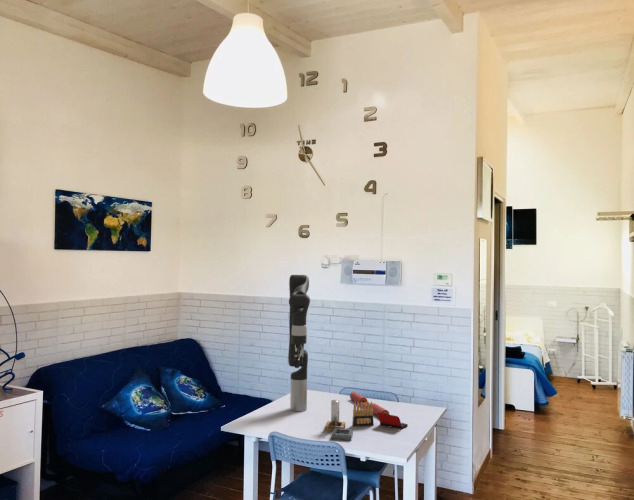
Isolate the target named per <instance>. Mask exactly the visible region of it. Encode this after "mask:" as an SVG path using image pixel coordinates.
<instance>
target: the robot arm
mask: <svg viewBox="0 0 634 500" xmlns="http://www.w3.org/2000/svg"><path fill="white" fill-rule="evenodd" d="M288 282H289V283H288V284H289V285H288V286H289V288H288V290H289V299H288V304H289V316H288V317H289V321H288V325H289V328H288V331H289V339H288V354H287V355H288V356H287V357H288V358H287V359H288V360H287V362H288V366H289V367H292V368H293V367H294V368H295V369H297V370H295V371H293V372H291V374H290V393H289V394H290V398H289V399H290V404H289V405H290V411H291V412H292V411H293V412H305V411H307V408H308V403H307V402H308V362H309V361H308V360H309V354H308V351H307V349H305V345H306V344H307V335H308V334H307V317H308V315H307V314H308V310H309V307H310V303H311V298H310V296H309V295H308V294H307V293H308V291H309V288H310V279H309V276H308V275H305V274H291V275H290V276H289V281H288Z"/></svg>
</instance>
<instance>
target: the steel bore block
mask: <svg viewBox="0 0 634 500" xmlns="http://www.w3.org/2000/svg"><path fill="white" fill-rule="evenodd" d="M353 436H354V429H351V428H345V429H339V428H334V430H333V432H331V440H335V441H352V438H353Z"/></svg>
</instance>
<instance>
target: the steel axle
mask: <svg viewBox="0 0 634 500" xmlns="http://www.w3.org/2000/svg"><path fill="white" fill-rule="evenodd" d="M330 402H331V403H330V405H331V406H330V421H331V426H339V422H340V400H339V399H338V400H337V399H332V400H331V401H330Z"/></svg>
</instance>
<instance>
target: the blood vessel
mask: <svg viewBox="0 0 634 500" xmlns="http://www.w3.org/2000/svg"><path fill="white" fill-rule="evenodd" d="M349 399H350V400H351V401H353V402H355V403H356V404H357V403H358V402H359V406H360V404H361V402H362V405H363V407H364V402H365V403H366V410H367V403H368V402H369V401H368V398H367V397H365V396H363V395H361V394H360V393H358V392H356V391H352V392H351V393H350V394H349ZM370 404H371V402H369V409H370ZM372 404H373V415H376V416H377V417H378V415H377V413H383V414H389V415H390V412H389V411H388V409H387V408H386V409H385V408H384V407H382V406H380V405H379V404H377V403H375V402H372Z"/></svg>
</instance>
